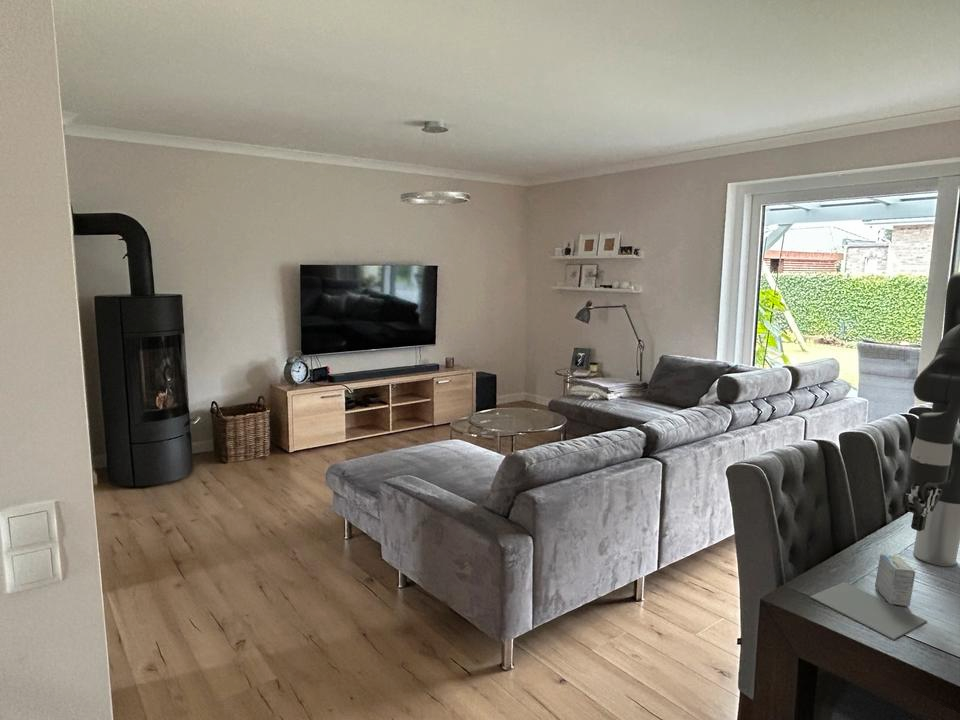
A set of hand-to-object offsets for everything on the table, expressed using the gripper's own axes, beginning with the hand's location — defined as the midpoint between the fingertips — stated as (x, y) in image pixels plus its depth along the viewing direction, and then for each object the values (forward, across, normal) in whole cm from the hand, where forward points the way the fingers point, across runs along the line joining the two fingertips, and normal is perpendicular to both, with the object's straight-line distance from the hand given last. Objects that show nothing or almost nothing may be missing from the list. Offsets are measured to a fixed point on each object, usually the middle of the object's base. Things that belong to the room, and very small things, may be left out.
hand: (917, 529), depth 146 cm
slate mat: (+16, +18, 0) cm, 24 cm away
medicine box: (+16, +7, 0) cm, 17 cm away
